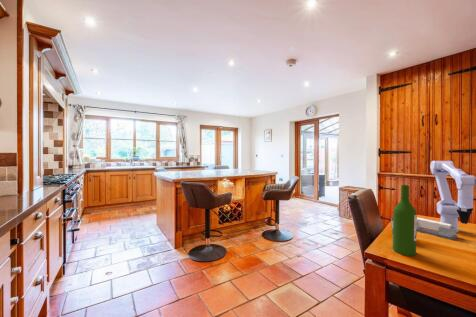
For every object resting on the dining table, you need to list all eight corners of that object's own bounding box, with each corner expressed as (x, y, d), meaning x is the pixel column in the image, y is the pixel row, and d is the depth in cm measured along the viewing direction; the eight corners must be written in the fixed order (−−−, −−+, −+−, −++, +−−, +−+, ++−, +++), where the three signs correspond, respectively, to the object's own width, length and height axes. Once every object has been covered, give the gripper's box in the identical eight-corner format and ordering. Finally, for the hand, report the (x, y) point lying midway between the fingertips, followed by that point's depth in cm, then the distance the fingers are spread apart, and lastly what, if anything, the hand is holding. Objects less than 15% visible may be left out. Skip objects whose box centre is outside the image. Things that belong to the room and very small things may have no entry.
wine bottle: (417, 258, 96) (419, 187, 95) (393, 253, 100) (394, 185, 100) (414, 250, 103) (415, 184, 102) (391, 246, 108) (392, 183, 107)
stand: (410, 225, 137) (410, 217, 137) (457, 237, 119) (457, 227, 118) (404, 228, 133) (405, 219, 133) (453, 240, 114) (453, 230, 114)
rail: (412, 222, 134) (412, 216, 134) (451, 231, 119) (451, 224, 119) (409, 223, 132) (410, 217, 132) (449, 232, 117) (449, 225, 117)
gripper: (456, 194, 122) (455, 217, 122) (453, 198, 113) (452, 222, 113) (474, 196, 117) (474, 220, 117) (472, 200, 107) (472, 226, 108)
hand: (464, 221), depth 115 cm, fingers open, 7 cm apart
